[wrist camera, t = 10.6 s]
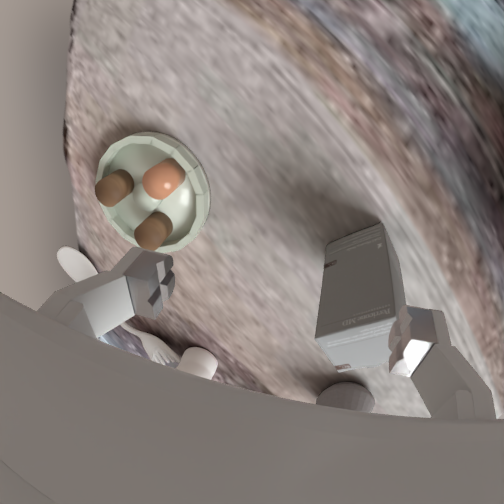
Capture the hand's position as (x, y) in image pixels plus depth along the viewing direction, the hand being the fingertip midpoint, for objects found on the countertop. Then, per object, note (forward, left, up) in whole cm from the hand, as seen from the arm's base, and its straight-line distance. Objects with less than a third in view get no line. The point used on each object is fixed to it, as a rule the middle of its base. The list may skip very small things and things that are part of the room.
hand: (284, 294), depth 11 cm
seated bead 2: (+15, -20, -26) cm, 36 cm away
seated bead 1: (+9, -26, -26) cm, 38 cm away
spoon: (+36, -32, -28) cm, 55 cm away
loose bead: (+7, -18, -26) cm, 33 cm away
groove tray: (+11, -21, -27) cm, 36 cm away
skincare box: (+15, +8, -28) cm, 32 cm away
